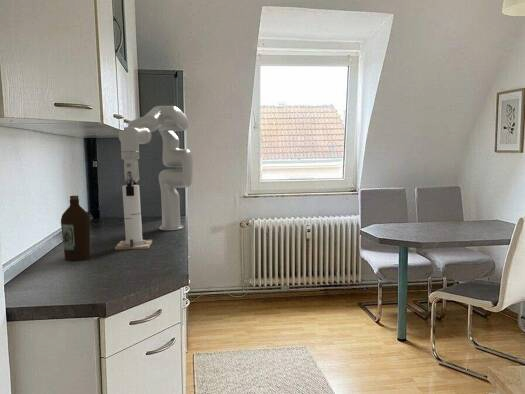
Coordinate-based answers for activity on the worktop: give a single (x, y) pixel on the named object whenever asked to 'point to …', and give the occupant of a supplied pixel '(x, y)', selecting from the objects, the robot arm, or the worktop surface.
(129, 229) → the cylindrical container
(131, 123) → the robot arm
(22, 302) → the worktop surface
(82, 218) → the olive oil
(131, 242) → the locking base
